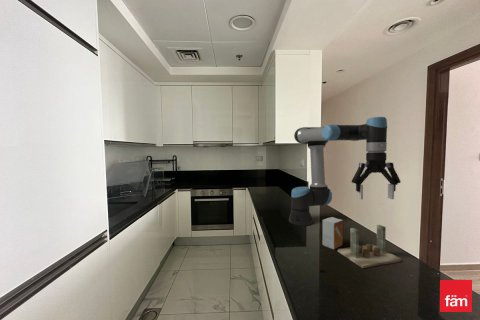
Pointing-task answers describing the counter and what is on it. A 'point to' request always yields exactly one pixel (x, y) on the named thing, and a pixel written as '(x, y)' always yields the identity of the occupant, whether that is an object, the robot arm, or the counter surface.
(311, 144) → the robot arm
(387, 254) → the peg stand
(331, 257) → the counter surface
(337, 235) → the small box
